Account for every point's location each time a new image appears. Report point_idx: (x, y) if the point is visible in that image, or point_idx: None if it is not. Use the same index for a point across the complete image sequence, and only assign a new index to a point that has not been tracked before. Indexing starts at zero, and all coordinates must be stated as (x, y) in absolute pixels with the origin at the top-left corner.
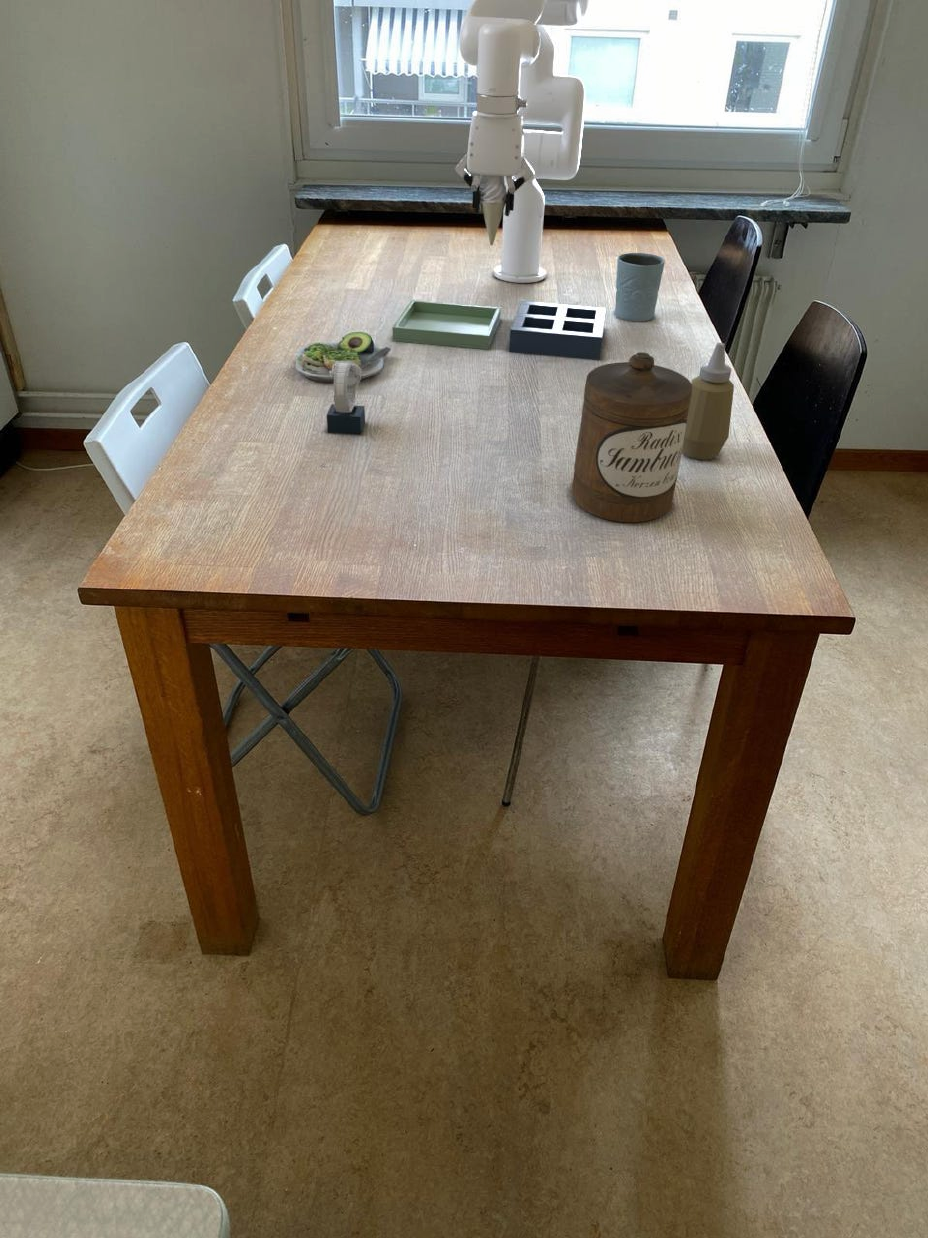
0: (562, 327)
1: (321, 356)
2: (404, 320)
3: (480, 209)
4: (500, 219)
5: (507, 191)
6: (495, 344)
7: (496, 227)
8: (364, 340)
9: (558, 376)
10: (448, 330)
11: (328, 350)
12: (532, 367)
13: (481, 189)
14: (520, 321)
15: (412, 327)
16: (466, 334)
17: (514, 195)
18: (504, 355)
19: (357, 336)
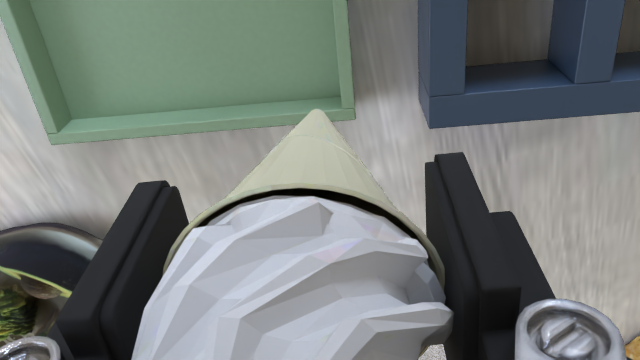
0: (615, 50)
1: (13, 331)
2: (27, 23)
3: (183, 220)
4: (379, 207)
5: (465, 325)
6: (366, 53)
7: (351, 196)
8: (61, 289)
9: (566, 217)
10: (189, 9)
11: (8, 314)
12: (496, 184)
13: (119, 337)
14: (455, 40)
15: (67, 23)
16: (283, 124)
17: (550, 290)
18: (409, 129)
19: (30, 276)
